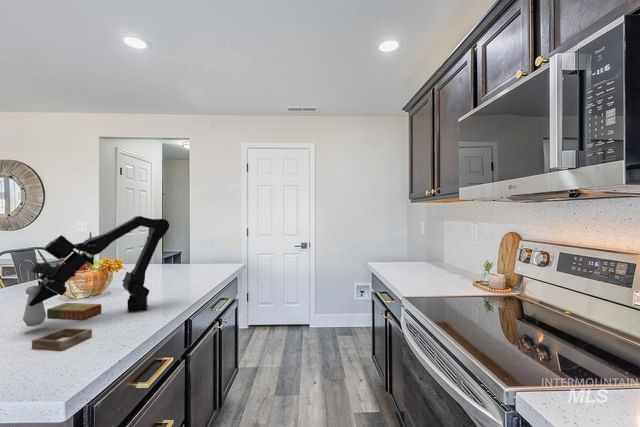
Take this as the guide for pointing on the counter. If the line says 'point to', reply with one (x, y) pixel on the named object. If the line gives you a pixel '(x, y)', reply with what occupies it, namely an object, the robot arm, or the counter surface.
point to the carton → (74, 311)
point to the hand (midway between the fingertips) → (29, 304)
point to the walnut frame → (51, 339)
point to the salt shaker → (34, 308)
